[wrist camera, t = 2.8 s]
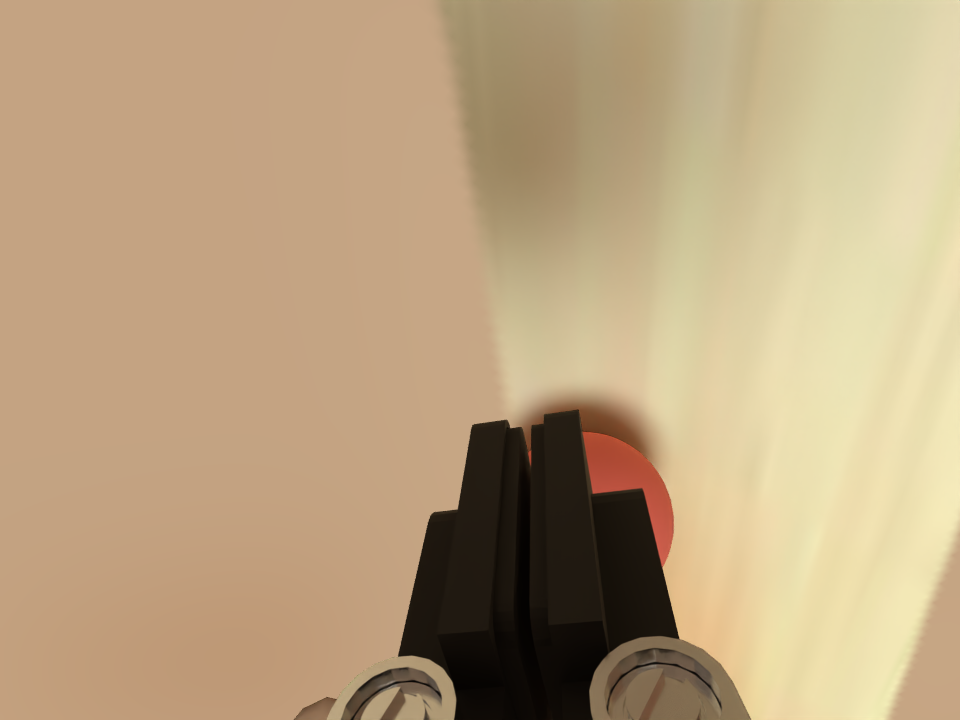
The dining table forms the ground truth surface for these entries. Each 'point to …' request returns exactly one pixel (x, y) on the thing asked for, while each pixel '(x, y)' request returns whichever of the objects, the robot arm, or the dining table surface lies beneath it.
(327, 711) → the salt shaker
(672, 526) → the ball
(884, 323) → the dining table surface
